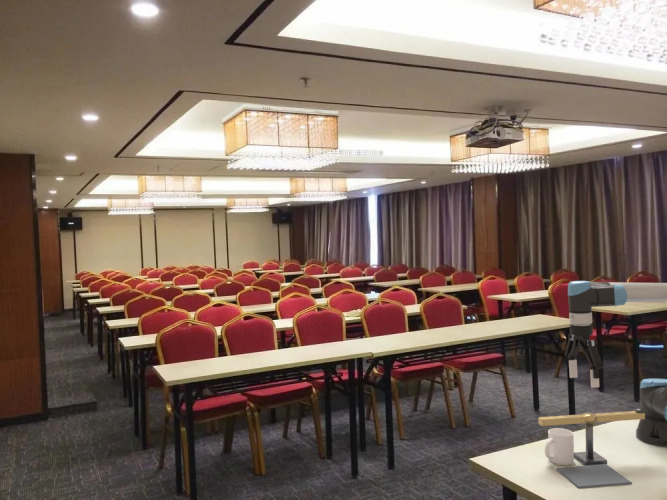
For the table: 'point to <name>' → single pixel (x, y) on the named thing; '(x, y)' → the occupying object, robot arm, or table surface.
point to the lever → (592, 418)
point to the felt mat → (593, 476)
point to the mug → (560, 446)
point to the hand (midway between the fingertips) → (584, 382)
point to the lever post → (589, 450)
